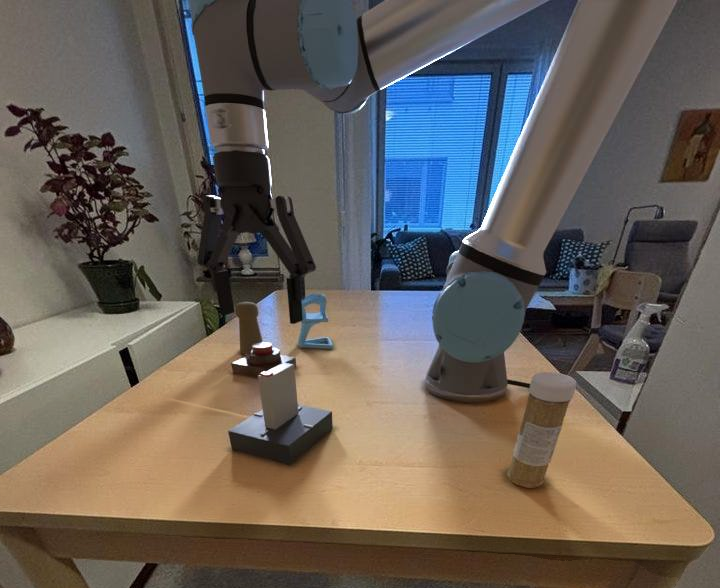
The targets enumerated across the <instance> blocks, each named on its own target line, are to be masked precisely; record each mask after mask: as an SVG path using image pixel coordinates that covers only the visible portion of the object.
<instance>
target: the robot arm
mask: <svg viewBox="0 0 720 588" xmlns="http://www.w3.org/2000/svg"><path fill="white" fill-rule="evenodd" d="M549 1H550V0H383V1H382V2H380V3H378V4H376V5H375V6H373V7H372V8H371V9H368V10H367V11H366V12H363V14H361V15H360V16H358V17H356V14H355V12H354V5H353V2H352V0H188V2H189V9H190V18H191V19H190V20H191V24H190V26H191V27H190V28H191V34H192V36H193V39H194V44H195V50H196V51H195V52H196V57H197V63H198V69H199V74H200V81H201V88H202V92H203V100H204V107H205V109H204V110H205V114H206V121H207V127H208V134H209V141H210V146H211V147H212V148H214V149H215V150H216V152H214V153H213V155H212V162H213V169H214V175H215V182H216V185H217V186H218V187H219V190H220V197H219V196H218V195H203V197H202V204H203V221H202V227H201V233H200V240H199V247H198V254H197V265H199V266H201V267H202V266H203V267H205V268H207V269H208V271H209V273H210V278H211V283H212V289H213V291H214V293H216V296H217V301H218V307H219V312H220V316H227V315H231V314H234V313H235V306H234V299H233V295H232V294H233V293H232V288H231V287H232V286H231V282H230V274H229V270H228V269H226V266H225V265H226V262H227V260H228V258H229V257H230V254H231V252H232V250H233V247H234V245H235V243H236V241H237V239H238V237H239V236H240V235H241V234H254V235H255V234H259V235H260V236H261V237H263V238H264V239H265V240H266V241H267V243H268V245H269V246H270V247H271V249H272V250H273V251H274V253H275V254H276V256H277V257H278V259H279V260H280V262H281V263H282V264H283V267H285V269H286V270H287V272H288V273H289V276H288V277H285V279H286V292H287V302H288V316H289V324H291V325H295V324H297V323H301V321H303V316H302V301H301V300H304V299H305V297H306V296H307V295H306V281H305V277H306V275H309V274H311V273H314V272H315V271H316V269H317V267H316V263H315V260H314V259H313V256H312V254H311V252H310V249H309V247H308V244H307V242H306V240H305V237H304V235H303V233H302V230H301V228H300V225H299V222H298V220H297V217H296V216H295V212H294V211H295V210H294V205H293V199H292V198H291V196H286V195H277V196H276V197H275V198H273V196H272V193H271V192H272V191H271V190H272V189H271V188H272V185H273V183H272V173H271V172H272V171H271V163H270V158H269V156H268V155H267V154H265V152H266V151H268V150H269V138H268V128H267V117H266V108H265V91H270V92H271V91H284V90H285V91H286V90H287V91H288V90H289V91H290V90H300V91H304V92H305V93H307V94H308V95H309V96H311V97H312V98H315V99H316V100H318V101H319V102H321V103H322V104H323V105H324V106H325V107H327V108H328V109H329V110H331V111H333V112H335V113H337V114H341V115H352V114H355V113H358V112H359V111H360V110H361V109H362V108H363V107H364V106H365V104H366V103H367V102H368V100H369V98H370V97H371V96H372V95H374V94H376V93H378V92H379V91H381V90H383V89H385V88H386V87H388V86H391V85H393V84H394V83H396V82H398V81H400V80H402V79H404V78H406V77H408V76H409V75H411V74H413V73H415V72H417V71H419V70H421V69H423V68H425V67H426V66H428V65H430V64H432V63H434V62H436V61H438V60H439V59H441V58H444V57H445V56H447V55H450V54H451V53H453V52H455V51H456V50H458V49H460V48H462V47H464V46H466V45H468V44H470V43H472V42H473V41H476V40H477V39H479V38H481V37H483V36H485V35H486V34H488V33H491V32H493V31H494V30H496V29H498V28H501V27H502V26H503V25H505V24H506V25H507V23H509V22H511V21H513V20H515V19H516V18H519V17H520V16H523V15H525V14H527V13H529V12H530V11H532V10H534V9H536V8H537V7H540V6H541V5H543V4H545V3H547V2H549ZM677 2H678V0H577V2H576V4H575V7H574V9H573V11H572V14H571V16H570V19H569V21H568V23H567V25H566V28H565V31H564V33H563V36H562V37H561V39H560V42H559V45H558V47H557V49H556V51H555V54H554V56H553V59H552V61H551V63H550V65H549V68H548V70H547V72H546V75H545V77H544V80H543V81H542V83H541V87H540V89H539V92H538V94H537V95H536V98H535V101H534V103H533V105H532V108H531V110H530V112H529V115H528V117H527V119H526V122H525V123H524V126H523V128H522V131H521V133H520V136H519V138H518V140H517V142H516V145H515V147H514V149H513V152H512V154H511V156H510V159H509V161H508V163H507V166H506V168H505V171H504V173H503V176H502V177H501V180H500V181H499V184H498V186H497V189H496V191H495V194H494V196H493V198H492V201H491V203H490V205H489V208H488V210H487V213H486V215H485V217H484V219H483V222H482V224H481V227H480V228H478V230H477V231H475V232H473V233H471V234H469V235H467V236H466V237H464V238H463V240H462V242H461V245H460V247H459V249H458V250H456V251H454V252H453V253H451V254H450V256H449V260H448V265H447V267H446V280H445V283H444V285H443V288H442V290H441V291H440V292H439V293H438V295H437V297H436V299H435V302H434V304H433V307H432V315H431V321H432V330H433V335H434V337H435V339H436V342H437V343H438V346H437V348H436V352H435V354H434V356H433V359H432V360H431V363H430V364H429V367H428V370H427V371H426V374H425V378H424V379H425V381H424V387H425V388H424V389H425V390H426V391H427V392H428V393H430V394H431V395H433V396H435V397H436V398H439V399H442V400H446V401H450V402H456V403H461V404H486V403H491V402H496V401H498V400H500V399H503V397H505V396H506V393H507V389H508V385H509V386H515V387H520V388H526V389H529V388H530V384H531V383H528V382H523V381H519V380H514V379H508V375H507V374H508V373H507V365H506V358H505V352H506V351H507V350H508V349H510V347H511V346H512V345H513V344H514V342H515V341H516V340H517V338H518V336H519V335H520V334H521V331H522V329H523V325H524V323H525V317H526V311H527V309H528V307H529V305H530V303H531V302H532V299H533V298H534V296H535V294H536V292H537V290H538V288H539V287H540V285H541V283H542V281H543V279H544V278H545V276H546V274H547V269H546V264H545V263H546V262H545V259H544V253H545V251H546V249H547V247H548V245H549V243H550V241H551V240H552V238H553V237H554V234H555V231H556V230H557V229H558V226H559V224H560V222H561V221H562V219H563V217H564V215H565V213H566V211H567V209H568V207H569V206H570V204H571V202H572V200H573V198H574V196H575V195H576V192H577V191H578V189H579V187H580V185H581V183H582V181H583V179H584V178H585V176H586V173H587V171H588V170H589V168H590V167H591V164H592V162H593V160H594V158H595V156H596V155H597V153H598V151H599V149H600V147H601V145H602V143H603V142H604V139H605V138H606V137H607V134H608V132H609V130H610V129H611V127H612V125H613V123H614V121H615V119H616V117H617V115H618V113H619V111H620V110H621V108H622V106H623V104H624V102H625V101H626V98H627V97H628V95H629V93H630V92H631V91H630V90H631V89H632V87H633V85H634V83H635V81H636V80H637V78H638V76H639V74H640V72H641V71H642V68H643V66H644V65H645V63H646V61H647V59H648V57H649V55H650V53H651V51H652V49H653V48H654V46H655V43H656V42H657V40H658V39H659V36H660V34H661V33H662V31H663V29H664V27H665V25H666V23H667V21H668V19H669V18H670V15H671V13H672V12H673V10H674V8H675V6H676V4H677ZM223 213H224V215H225V217H224V219H223V221H222V214H223ZM273 214H275V215H276V216H277V217H278V220H279V221H278V222H279V223H280V226H281V228H282V230H283V232H284V235H285V237H286V239H285V238H284V237H283V235H282V233H281V232H280V228H279V226H278V225H277V223H276V222H275V220H274V219H273V218H272V216H273ZM221 223H222V224H221ZM220 229H221V232H220ZM287 241H288V242H287Z"/></svg>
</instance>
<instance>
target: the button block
mask: <svg viewBox="0 0 720 588" xmlns="http://www.w3.org/2000/svg"><path fill="white" fill-rule="evenodd" d="M272 350H273V353H271V354H267V355H256V354H253V348H252V349H250V350H247V352H246V355H245V356H244V357H242V358H240V359H238V360H235V361H232V362H231V363H230V364H231V369H232V373H233V374H235V375H242V376H246V377H253V378H257V379H258V375H259V373H261V372H263V371H265V372H266V371H268V370H270V369H272V368H274V367H276V366H278V365H280V364H282V363H289V364H294V368H295V369H296V368H297V358H296V357H294V356H290V355H289V356H288V355H283V354H282V355H281V349H279V348H277V347H273V346H272Z"/></svg>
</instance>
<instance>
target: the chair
mask: <svg viewBox="0 0 720 588" xmlns="http://www.w3.org/2000/svg"><path fill="white" fill-rule="evenodd" d="M301 301H302V316H303V321H300V323H301V327H300V333H299V336H298V341H297V345H298V348H301V349H323V350H324V349H325V350H333V349H334V345H333V342H332V340H331V338H330V337H328V336H326V337H325V336H323V337H317V338H309V339H307V338H308V335H309V332H310V330H311V328H312V327H313V326H314V325H317V324H320V323H329V317H328V315H327V314H326V308H327V302H328V301H327V296H326V295H325V294H324V293H319V294H318V293H311V294H308V295H306V296H305V299H304V300H301ZM309 305H318V306H319V312H314V313H309V312H308V313H307V311H306V307H307V306H309ZM324 342H327V344H326V343H324Z"/></svg>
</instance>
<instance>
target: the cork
mask: <svg viewBox="0 0 720 588" xmlns="http://www.w3.org/2000/svg"><path fill="white" fill-rule="evenodd" d="M234 313H235V315H236V317H237V318H238V325H239V326H238V330H239V353H240V354H241V355H245V356H246V352H247V350H250V349H252V345H253V344H255V343H261V342H264V340H263V335H262V332H261V328H260V325H259V321H258V316H259V314H260V313H259V308H258V305H257V304H256V303H254V302H250V301H242V302H239V303H238V302H237V304H235V306H234Z"/></svg>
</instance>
